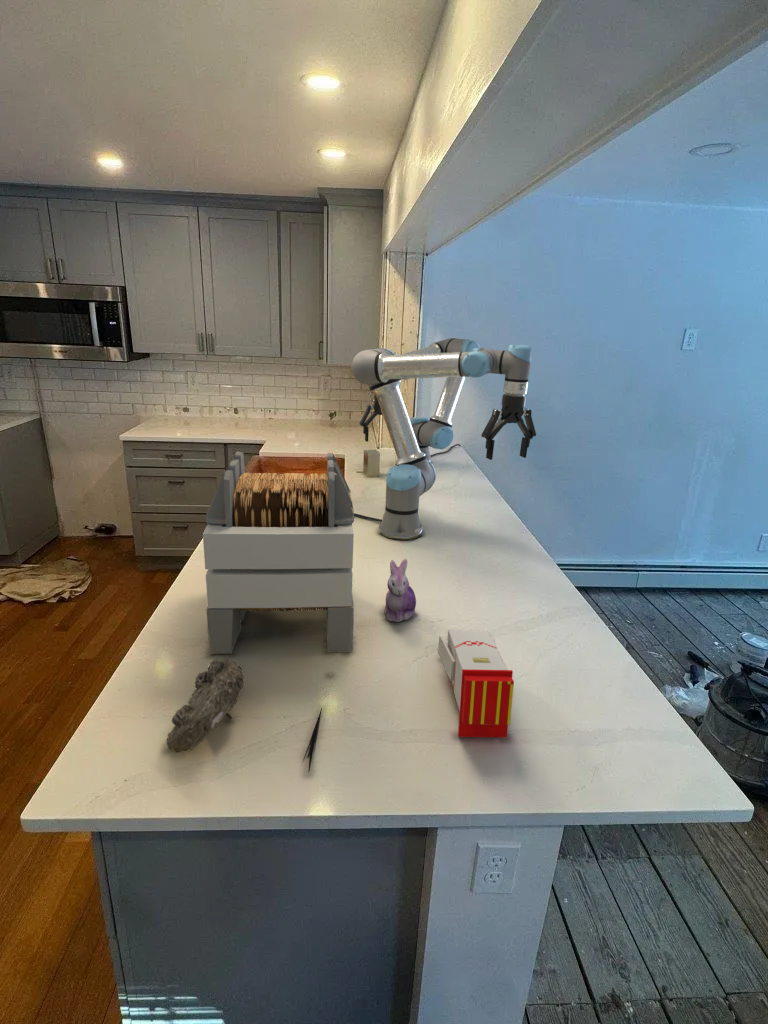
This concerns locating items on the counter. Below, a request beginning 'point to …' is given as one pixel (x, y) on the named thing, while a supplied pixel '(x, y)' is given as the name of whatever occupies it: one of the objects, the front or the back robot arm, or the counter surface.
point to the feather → (313, 740)
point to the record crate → (279, 550)
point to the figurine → (399, 594)
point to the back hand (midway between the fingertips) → (380, 440)
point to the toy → (478, 682)
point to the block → (371, 463)
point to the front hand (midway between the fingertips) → (506, 457)
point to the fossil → (206, 705)
